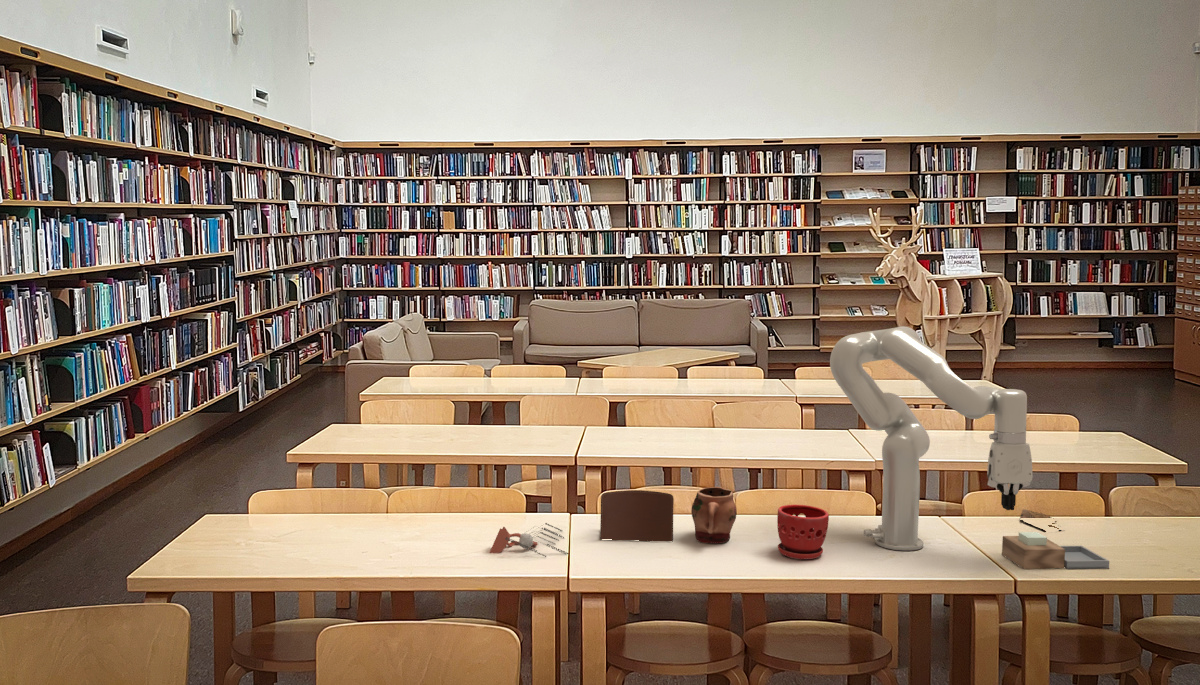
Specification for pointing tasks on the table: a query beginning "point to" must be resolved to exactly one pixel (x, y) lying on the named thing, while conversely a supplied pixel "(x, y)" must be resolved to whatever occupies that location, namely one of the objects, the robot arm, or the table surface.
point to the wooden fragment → (1034, 515)
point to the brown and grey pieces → (524, 540)
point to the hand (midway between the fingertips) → (1008, 508)
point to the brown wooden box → (1033, 554)
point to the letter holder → (637, 515)
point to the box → (1083, 558)
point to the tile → (1032, 538)
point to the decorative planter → (713, 514)
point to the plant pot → (801, 531)
